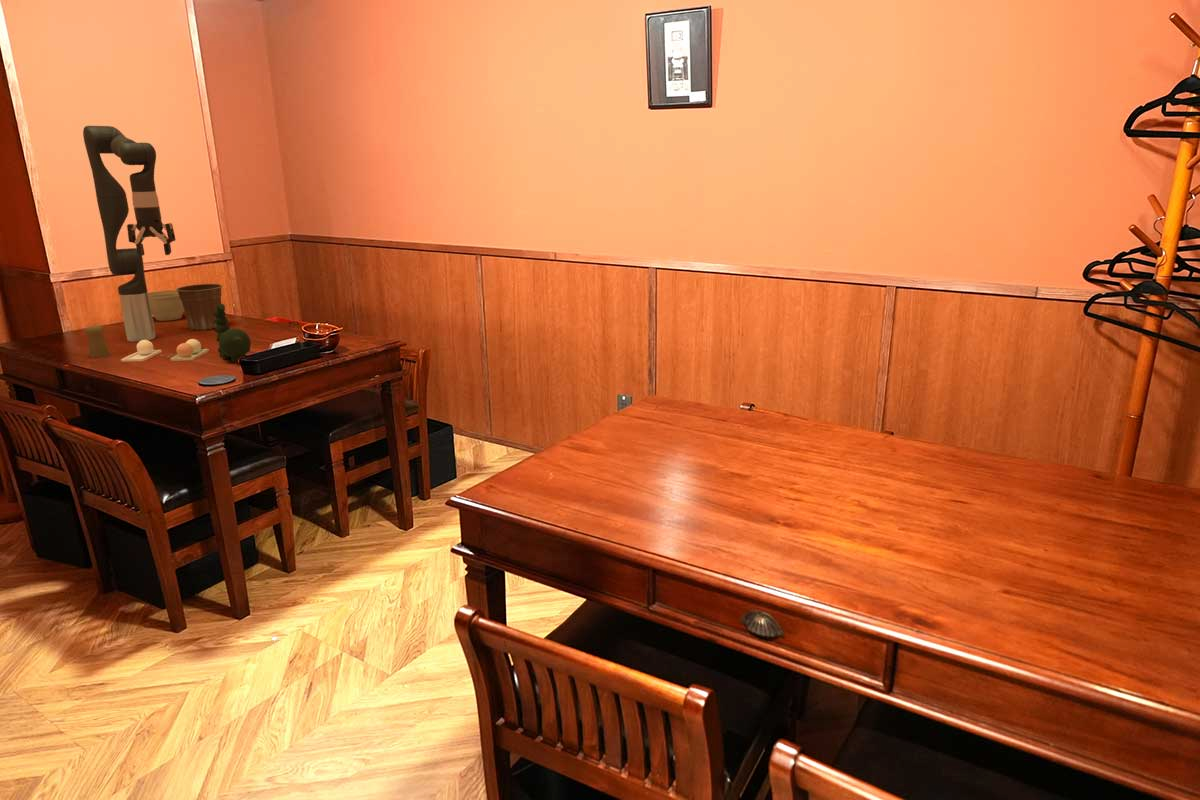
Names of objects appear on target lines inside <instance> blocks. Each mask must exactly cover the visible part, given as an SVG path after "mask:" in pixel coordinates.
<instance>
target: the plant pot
mask: <svg viewBox="0 0 1200 800" xmlns="http://www.w3.org/2000/svg"><path fill="white" fill-rule="evenodd" d="M222 287H223V285H222V284H219V283H197V284H191V285H185V286H180V287H177V288H176V289H175V290H176V291H178V294H179V297H180V300H181V301H182V304H183V308H184V314H185V317H186V322H187V325H188V328H189V330H190V331H194V330H196V331H208V330H207V329H209V330H214V329H213V328H216V326H217V325H216V324H215V323H214V322H213V320H214V319H215V318H216V317H215V316H214V315H213V313H214V312H215V311H216V310H217V309H216V307H217V305H218V304H220V303H221V304H222V298H221V297H222Z"/></svg>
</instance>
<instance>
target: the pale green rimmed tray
mask: <svg viewBox="0 0 1200 800" xmlns="http://www.w3.org/2000/svg"><path fill="white" fill-rule="evenodd" d="M208 352H210V349H209V348H203V349H202V348H201V349H200V351H199V352H198V353H195V354H192V355H191V356H190V357H188V358H182V357H180V356H179V355H178V354H175V355H173V356H171V357H169V358H170V361H171V362H173V361H174V362H175V361H179V362H181V361H193V360H195V359H197V358H198V357H201V356H202V355H204V354H207V353H208Z"/></svg>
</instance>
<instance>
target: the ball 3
mask: <svg viewBox="0 0 1200 800" xmlns="http://www.w3.org/2000/svg"><path fill="white" fill-rule="evenodd" d="M185 343H188V344H190V345H191V346H192V348H193V354H195V353H198V352H199V351H200V349H202V344H201V342H200V341H199V340H198V339H196V338H195V339H194V338H191V339H188V340H186V341H185Z"/></svg>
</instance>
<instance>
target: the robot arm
mask: <svg viewBox="0 0 1200 800" xmlns="http://www.w3.org/2000/svg"><path fill="white" fill-rule="evenodd" d="M82 136H83V137H82V138H83V142H84V146H85V151H86V153H87V157H88V161H89V165H90V168H91V169H90V170H91V172H92V177H93V184H94V190H95V196H96V202H97V207H98V211H99V217H100V220H101V223H102V224H101V225H102V229H103V234H104V241H105V250H106V258H107V264H108V268H109V271H110V273H111V275H113V276H126V275H127V276H128V275H134V276H133V278H132V279H131V280H129V281H127V282H125V283H122V284H121V285H119V286H118V288H117V292H118V296H119V302H120V308H121V312H122V313H121V314H122V318H123V319H122V320H123V325H124V330H125V335H126V339H127V342H140V341H141V340H148V341H151V340H154V339H156V336H157V335H156V330H155V324H154V319H153V315H152V312H151V309H150V303H149V298H148V293H149V292H148V288H147V281H146V275H145V265H144V259H143V256H145V249H144V245H143V241H144V240H145V239H146V238H150V237H152V238H157V239H159V240H160V241H161V242H162V243H163V245H162V246H163V250H164V254H165V256H170V255H171V254H172V247H171V244H172V243H173V242H175V241H176V235H175V230H174V225H173V224H172V222H169V223H163V221H162V215H161V214H162V213H161V208H160V202H159V196H158V194H157V190H156V182H155V167H156V161H157V152H156V149H155V147H154V146H153V144H151V143H149V142H136V141H134V140H133V139H130V138H128V137H126V135H125V134H123V132H122V131H120V130H119V129H118V128H117V127H114V126H110V125H85V126H84V128H83V131H82ZM101 154H102V155H103V154H112V155H113V154H114V155H115V156H116V157H118V158H120V161H121V162H122V163H123V164H124V165H127V166H143V168H142V170H141V171H138V172H134V173H131V174H130V175H129V183H130V188H131V193H132V195H131V196H132V197H131V198H132V206H133V211H134V216H135V220H136V224H135V223H129V224H127V225H126V229H127V230H126V231H127V237H128V242H129V243H132V244H135V246H136V248H134V247H133V248H119V249H117V240H118V237H119V234H120V231H121V229H122V227H123V225H124V224H125V222H126V219H127V218H128V215H129V213H130V211H129V210H130V207H129V203H128V198H127V197H128V196H127V192H126V191H125V189H124V188H123V186H122V185H121V184H120V183H119V182H118V180H117V179H116V178H115V177H114V176H113V175H112V173H111V172H110V171H109V170H108V169H107V167H106V166H105V164H104V162H103V159H102V157H101ZM163 229H164V230H165V231H166V233H165V232H164V231H163ZM137 230H138V231H139V232H138V234H137V236H136V231H137Z"/></svg>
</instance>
